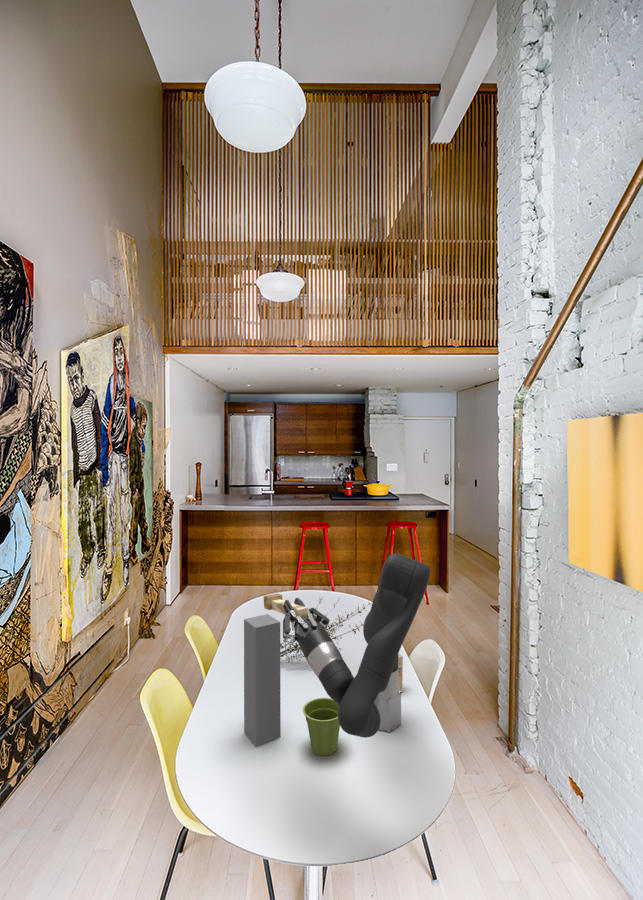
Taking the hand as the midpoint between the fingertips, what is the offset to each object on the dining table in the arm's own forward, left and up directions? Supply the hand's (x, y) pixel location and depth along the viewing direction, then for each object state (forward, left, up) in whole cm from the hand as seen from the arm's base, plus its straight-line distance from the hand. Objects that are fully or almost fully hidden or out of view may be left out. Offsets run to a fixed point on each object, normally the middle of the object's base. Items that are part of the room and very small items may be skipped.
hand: (290, 601), depth 122 cm
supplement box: (+6, -50, -45) cm, 67 cm away
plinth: (+17, -3, -44) cm, 48 cm away
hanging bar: (+2, 0, -4) cm, 4 cm away
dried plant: (+37, -50, -45) cm, 76 cm away
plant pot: (0, -12, -45) cm, 46 cm away
